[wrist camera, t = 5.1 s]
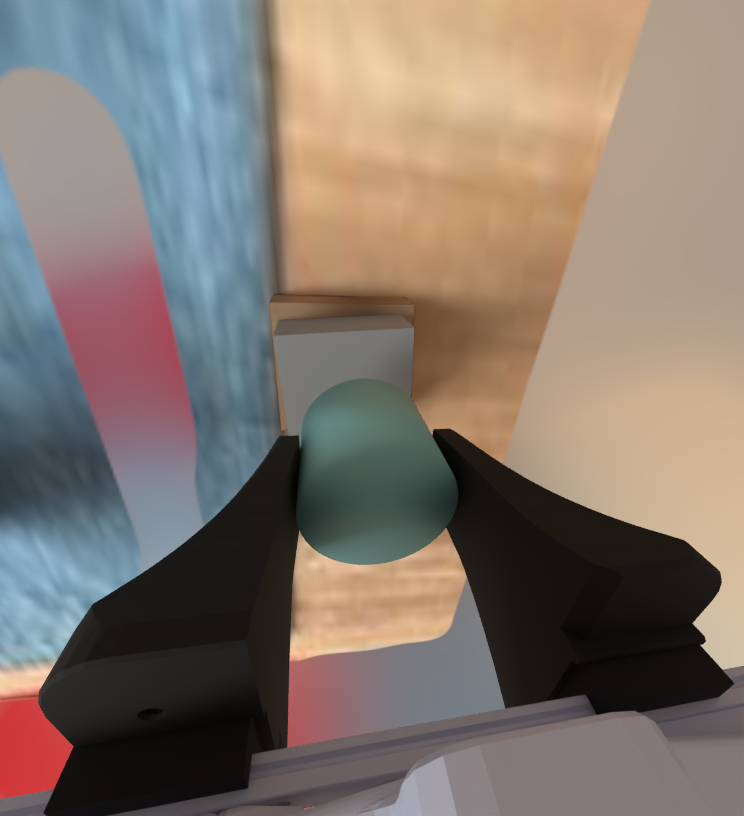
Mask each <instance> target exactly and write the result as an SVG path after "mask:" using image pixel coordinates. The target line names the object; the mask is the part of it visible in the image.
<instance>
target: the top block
mask: <svg viewBox="0 0 744 816" xmlns="http://www.w3.org/2000/svg"><path fill="white" fill-rule="evenodd" d="M414 329H415V328H414V327H413V326H412V325H411V324H410V323H409V322H408V321H407V320H406V319H405V318H404V317H403V316H402V314H395V315H375V316H356V317H336V318H317V319H297V320H278V323H277V326H276V329H275V332H274V335H273V338H274V344H275V350H276V357H277V363H278V369H279V376H280V382H281V388H282V395H283V401H284V407H285V414H286V420H287V426H288V433H289V436H295V435H299V443H300V442H301V429H302V423H303V419H304V416H305V414H306V412H307V410H308V409H309V407H310V406H311V404H312V403H313V402H314V401H315V399H316V398H317V397H318V396H320V395H321V394H322V393H323V392H325V391H326V390H328V389H329V388H331V387H333V386H335V385H337V384H339V383H342V382H345V381H349V380H353V379H362V378H366V379H378V380H382V381H386V382H388V383H391V384H393V385H395V386H397V387H399V388H400V389H401V390H403V391H404V392H405V393H406V394H407V395H408V396H409V397H410V398H411V389H412V369H413V349H414Z"/></svg>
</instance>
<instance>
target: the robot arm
mask: <svg viewBox="0 0 744 816" xmlns="http://www.w3.org/2000/svg"><path fill="white" fill-rule="evenodd" d="M433 438H434V440H435V442H436V444H437V445H438V447H439V449H440V451H441V453H442V454H443V456H444V458H445V460H446V462H447V464H448V465H449V467H450V469H451V471H452V473H453V475H454V477H455V479H456V483H457V486H458V503H457V506H456V510H455V513H454V515H453V517H452V519H451V521H450V522H449V524H448V525H447V527H446V528H447V530H448V532H449V534H450V537H451V539H452V541H453V543H454V545H455V548H456V550H457V552H458V554H459V557H460V559H461V562H462V564H463V567H464V569H465V572H466V575H467V578H468V581H469V584H470V587H471V590H472V593H473V596H474V599H475V602H476V606H477V608H478V612H479V615H480V618H481V622H482V625H483V628H484V631H485V635H486V638H487V642H488V645H489V649H490V652H491V656H492V659H493V663H494V666H495V670H496V674H497V678H498V682H499V685H500V689H501V693H502V697H503V701H504V705H505V709H501V710H495V711H490V712H484V713H479V714H473V715H467V716H462V717H456V718H451V719H445V720H440V721H434V722H429V723H423V724H417V725H412V726H406V727H400V728H395V729H389V730H384V731H378V732H373V733H367V734H362V735H356V736H350V737H345V738H339V739H333V740H328V741H323V742H317V743H312V744H306V745H301V746H295V747H289V748H287V733H288V691H289V689H288V688H289V657H290V628H291V602H292V583H293V572H294V564H295V557H296V550H297V542H298V535H299V528H298V524H297V520H296V504H297V488H298V474H299V460H300V443H299V435H295V436H280V437H279V438H278V439H277V440H276V442H275V444H274V445H273V447H272V449H271V450H270V452H269V453H268V455H267V456H266V458H265V459H264V460H263V462H262V463H261V465H260V466H259V467H258V469H257V470H256V471H255V473H254V474H253V475H252V477H251V478H250V479H249V480H248V481H247V483H246V484H245V485H244V486H243V487H242V488H241V490H240V491H239V492H238V493H237V494H236V495H235V497H234V498H233V499H232V500H231V501H230V502H229V503H228V504H227V505H226V506H225V507H224V508H223V509H222V510H221V511H220V512H219V513H218V514H217V515H216V516H215V517H214V518H213V519H212V520H211V521H209V522H208V523H207V524H206V525H205V526H204V527H203V528H202V529H200V531H198V532H197V533H196V534H195V535H193V536H192V537H191V538H190V539H189V540H187V541H186V542H185V543H184V544H182V545H181V546H180V547H178V548H177V549H176V550H174V551H173V552H172V553H170V554H169V555H168V556H166V557H165V558H163V559H162V560H161V561H159V562H158V563H156V564H155V565H154V566H152V567H151V568H149V569H148V570H146V571H145V572H143V573H142V574H140V575H139V576H137V577H136V578H134V579H132V580H131V581H129V582H128V583H126V584H125V585H123V586H121V587H120V588H118V589H117V590H115V591H113V592H112V593H110V594H109V595H107V596H106V597H104V598H102V599H101V600H99V601H97V602H96V603H94V604H93V605H92V606H91V608H90V609H89V611H88V612H87V614H86V615H85V616H84V618H83V619H82V621H81V622H80V624H79V625H78V626H77V628H76V630H75V631H74V633H73V635H72V636H71V638H70V639H69V641H68V643H67V645H66V646H65V648H64V650H63V651H62V653H61V655H60V657H59V658H58V660H57V662H56V663H55V665H54V667H53V669H52V670H51V672H50V674H49V675H48V677H47V679H46V681H45V682H44V684H43V686H42V687H41V689H40V691H39V700H38V703H39V706H40V708H41V710H42V711H43V713H44V714H45V716H46V718H47V719H48V720H49V721H50V722H51V723H52V724H53V725H54V726H55V727H56V728H57V729H58V730H59V731H60V733H62V735H63V736H64V737H65V738H66V739H67V740H68V741H69V742H70V743H71V744H72V745H73V746H74V747H73V749H72V751H71V754H70V756H69V758H68V760H67V762H66V765H65V767H64V769H63V771H62V773H61V775H60V777H59V780H58V782H57V784H56V786H55V788H54V790H49V791H43V792H38V793H32V794H27V795H21V796H16V797H10V798H4V799H0V816H744V666H741V667H735V668H730V669H724V670H722V669H721V668H720V667H719V665H718V664H717V663H716V662H715V661H714V660H713V659H712V658H711V657H710V656H709V655H708V653H707V652H706V651H705V650H704V649H703V648H702V647H701V646H700V645H701V644H704V643H705V641H706V640H705V637H704V635H702V633H701V632H700V631H699V630H698V629H697V628H696V627H695V626H694V625H693V624H692V623H693V622H694V621H695V620H696V618H697V617H698V616H699V615H700V614H701V613H702V611H703V610H704V609H705V608H706V607H707V606H708V605H709V603H710V602H711V601H712V600H713V599H714V597H715V596H716V594H717V593H718V592H719V589H720V586H721V583H722V582H721V574H720V571H719V570H718V569H717V568H715V567H714V566H713V565H712V564H711V563H710V562H709V561H707V560H706V559H705V558H704V557H703V556H702V555H701V554H700V553H699V552H697V551H696V550H695V549H694V548H693V547H692V546H691V545H689V544H688V543H687V542H686V541H684V540H682V539H678V538H675V537H672V536H668V535H665V534H662V533H658V532H655V531H652V530H648V529H645V528H642V527H638V526H635V525H632V524H629V523H626V522H624V521H621V520H618V519H615V518H612V517H610V516H607V515H604V514H602V513H599V512H597V511H594V510H591V509H589V508H586V507H584V506H582V505H580V504H577V503H575V502H573V501H570V500H568V499H566V498H564V497H561V496H559V495H557V494H555V493H552V492H551V491H549V490H547V489H545V488H543V487H541V486H539V485H537V484H535V483H534V482H531V481H530V480H528V479H526V478H524V477H523V476H521V475H519V474H518V473H516V472H515V471H513V470H511V469H510V468H508V467H506V466H505V465H503V464H502V463H500V462H499V461H497V460H495V459H494V458H492V457H491V456H490V455H488V454H487V453H485V452H484V451H482V450H481V449H479V448H478V447H476V446H475V445H474V444H472V443H471V442H469V441H468V440H467V439H465V438H464V437H462V436H461V435H459V434H458V433H456V432H455V431H453V430H451V429H434V430H433ZM321 804H322V805H321ZM317 805H319V806H317ZM312 806H316V807H313V808H309V809H307V810H304V809H303V808H306V807H312Z"/></svg>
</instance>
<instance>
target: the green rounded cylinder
mask: <svg viewBox="0 0 744 816" xmlns="http://www.w3.org/2000/svg"><path fill="white" fill-rule="evenodd" d="M457 503H458V486H457V483H456V479H455V477H454V475H453V473H452V471H451V469H450V467H449V465H448V464H447V462H446V460H445V458H444V456H443V454H442V453H441V451H440V449H439V447H438V445H437V444H436V442H435V440H434V438H433V436H432V434H431V433H430V431H429V429H428V427H427V425H426V424H425V422H424V420H423V418H422V416H421V414H420V413H419V411H418V409H417V407H416V405H415V404H414V402H413V401H412V399H411V398H410V397H409V396H408V395H407V394H406V393H405V392H404V391H403V390H401V389H400V388H399V387H397V386H395V385H393V384H391V383H388V382H386V381H382V380H378V379H366V378H362V379H353V380H349V381H345V382H342V383H339V384H337V385H335V386H333V387H331V388H329V389H328V390H326V391H325V392H323V393H322V394H321V395H320V396H318V397H317V398H316V399H315V401H314V402H313V403H312V404H311V406H310V407H309V409H308V410H307V412H306V414H305V416H304V419H303V423H302V429H301V442H300V460H299V474H298V488H297V504H296V520H297V524H298V528H299V530H300V532H301V534H302V536H303V537H304V539H305V541H306V542H307V543H308V544H309V545H310V546H311V547H312V548H314V549H315V550H316V551H317V552H319V553H321V554H322V555H324V556H326V557H328V558H331V559H333V560H336V561H340V562H344V563H349V564H358V565H370V564H380V563H386V562H390V561H394V560H398V559H401V558H404V557H406V556H408V555H411V554H413V553H415V552H417V551H419V550H420V549H422V548H424V547H425V546H427V545H428V544H430V543H431V542H432V541H433V540H434V539H436V538H437V537H438V536H439V535H440V534H441V533H442V532H443V531H444V529H445V528H446V527H447V525H448V524H449V522H450V521H451V519H452V517H453V515H454V513H455V510H456V506H457Z"/></svg>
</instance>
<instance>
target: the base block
mask: <svg viewBox="0 0 744 816" xmlns="http://www.w3.org/2000/svg"><path fill="white" fill-rule="evenodd" d="M269 304H270V314H271V325H272V336H273V335H274V332H275V329H276V326H277V323H278V320H297V319H317V318H336V317H356V316H375V315H395V314H402V316H403V317H404V318H405V319H406V320H407V321H408V322H409V323H410V324H411V325H412V326H413V321H414V311H415V305H414V304H413V303H412V302H410V301H409V300H408V299H407V298H399V297H355V296H310V295H274V296H273V297H272V299H271V301H270V302H269ZM273 346H274V357H275V367H276V378H277V389H278V399H279V410H280V420H281V430H288V426H287V420H286V414H285V407H284V401H283V395H282V388H281V382H280V376H279V369H278V363H277V357H276V350H275V344H274V338H273Z"/></svg>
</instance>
